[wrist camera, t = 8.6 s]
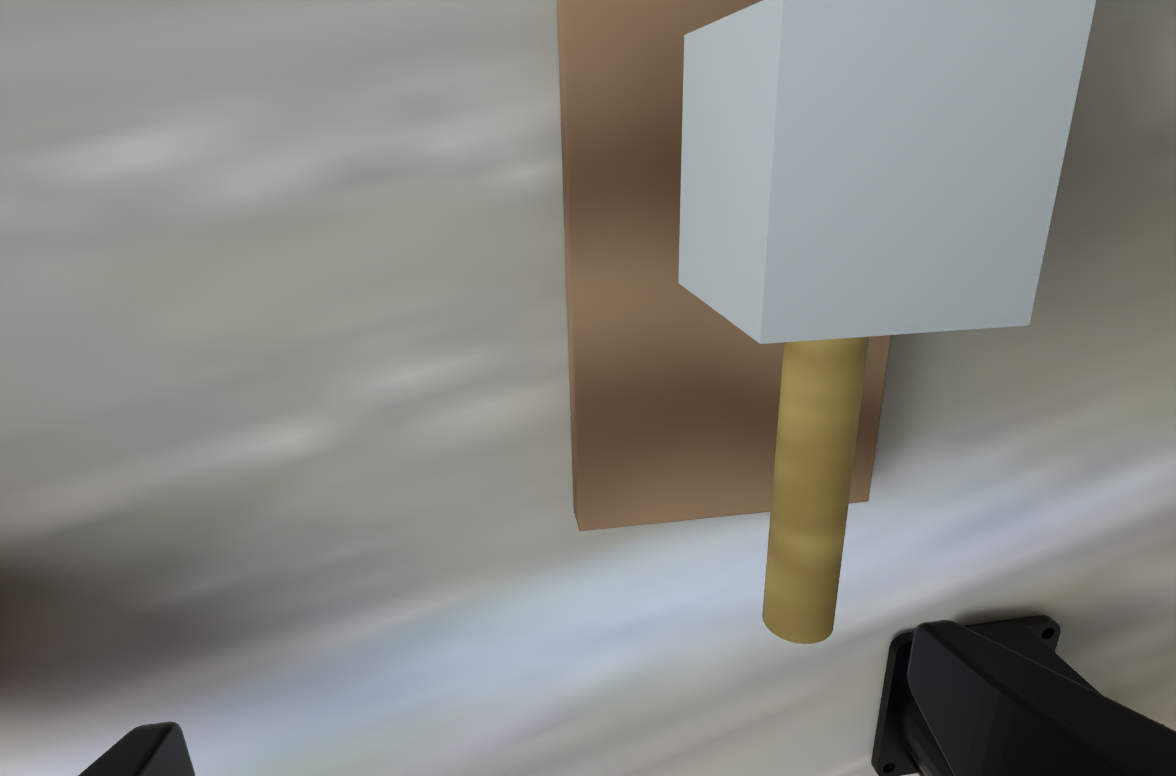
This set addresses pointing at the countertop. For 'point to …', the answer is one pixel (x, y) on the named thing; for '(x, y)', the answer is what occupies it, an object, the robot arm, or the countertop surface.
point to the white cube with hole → (875, 162)
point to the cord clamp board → (691, 334)
